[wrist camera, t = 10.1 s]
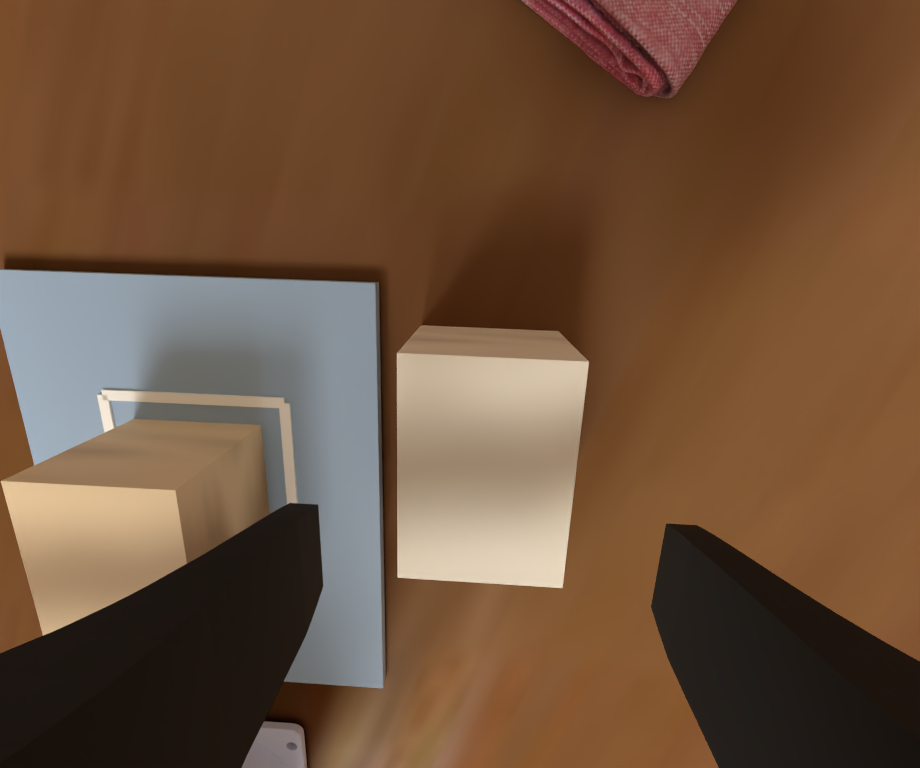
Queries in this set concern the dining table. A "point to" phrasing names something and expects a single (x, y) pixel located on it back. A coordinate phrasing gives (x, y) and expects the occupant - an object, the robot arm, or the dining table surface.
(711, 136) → the dining table surface
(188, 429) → the maple brick
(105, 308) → the board
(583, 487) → the dining table surface
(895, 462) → the dining table surface
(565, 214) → the dining table surface
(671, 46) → the dish towel
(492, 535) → the birch brick
